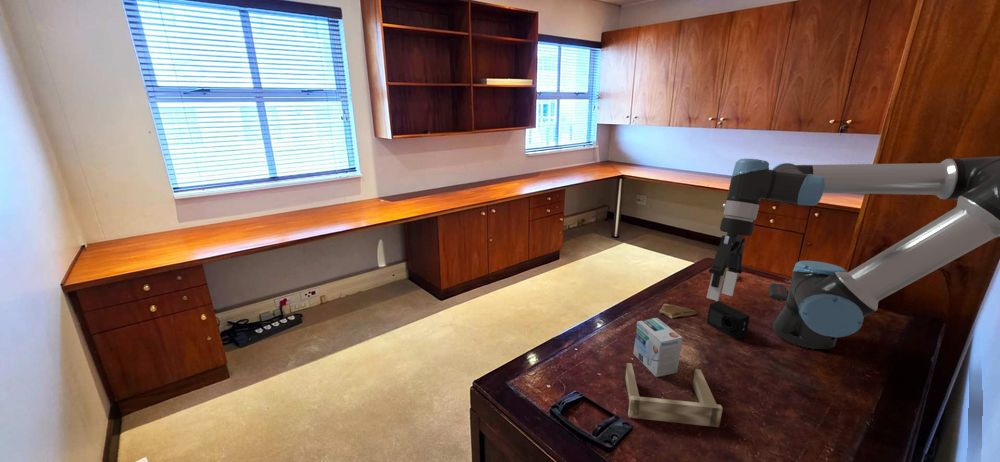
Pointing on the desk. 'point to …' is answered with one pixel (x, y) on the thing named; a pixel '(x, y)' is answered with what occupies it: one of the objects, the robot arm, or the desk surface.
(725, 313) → the digital camera
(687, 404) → the rack bay
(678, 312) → the shard
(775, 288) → the usb drive
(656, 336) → the light bulb box
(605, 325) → the desk surface
